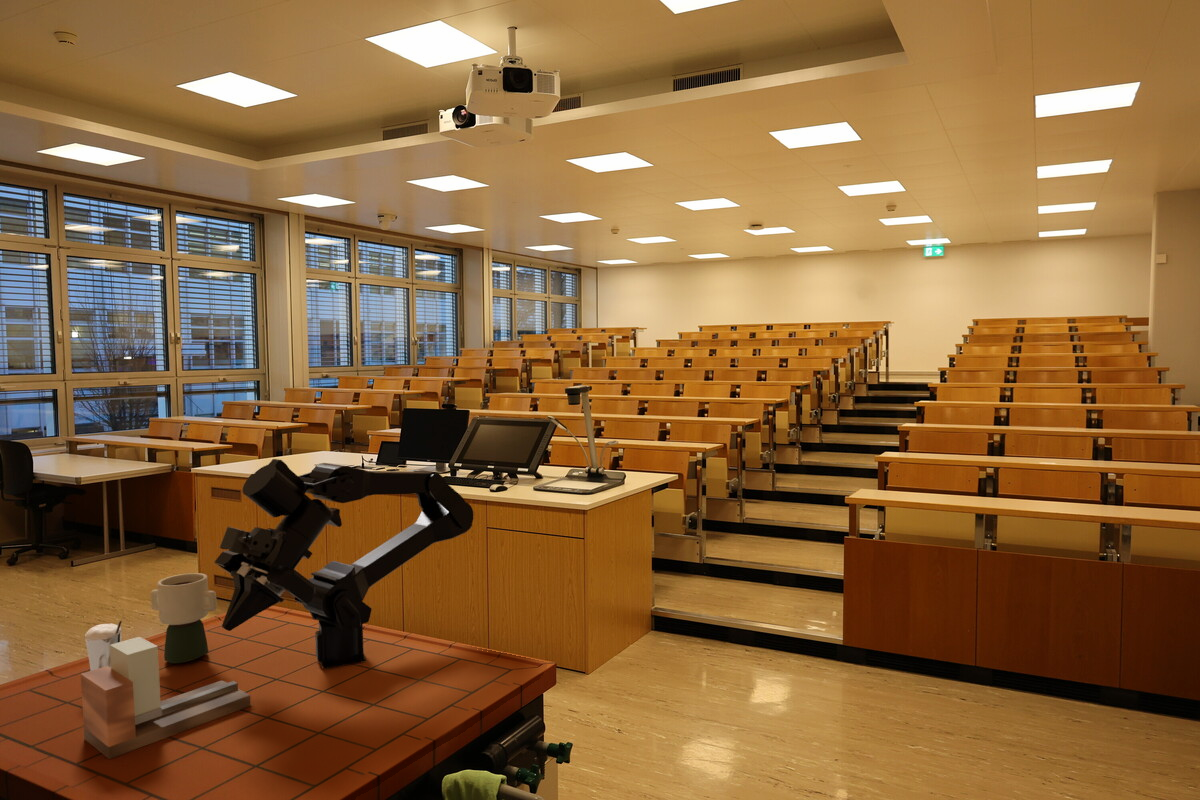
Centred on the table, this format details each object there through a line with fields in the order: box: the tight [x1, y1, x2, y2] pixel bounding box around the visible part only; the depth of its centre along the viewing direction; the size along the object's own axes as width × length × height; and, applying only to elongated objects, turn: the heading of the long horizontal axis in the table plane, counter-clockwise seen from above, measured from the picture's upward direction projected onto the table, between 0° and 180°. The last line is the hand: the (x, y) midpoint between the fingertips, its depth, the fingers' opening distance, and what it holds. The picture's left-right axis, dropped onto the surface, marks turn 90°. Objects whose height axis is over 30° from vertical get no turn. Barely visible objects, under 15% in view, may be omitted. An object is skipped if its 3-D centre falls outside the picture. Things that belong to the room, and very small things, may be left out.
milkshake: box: [84, 620, 123, 671], centre depth 113 cm, size 5×5×10 cm
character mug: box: [150, 572, 217, 664], centre depth 123 cm, size 11×7×13 cm, turn 84°
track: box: [80, 666, 251, 760], centre depth 102 cm, size 18×8×8 cm, turn 142°
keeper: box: [110, 636, 162, 725], centre depth 99 cm, size 4×6×9 cm, turn 52°
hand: (225, 629), depth 108 cm, fingers closed
